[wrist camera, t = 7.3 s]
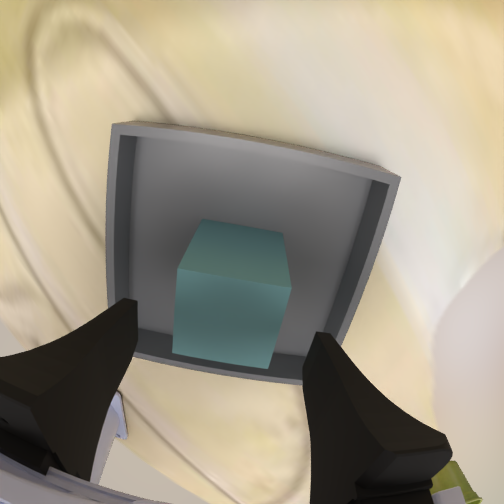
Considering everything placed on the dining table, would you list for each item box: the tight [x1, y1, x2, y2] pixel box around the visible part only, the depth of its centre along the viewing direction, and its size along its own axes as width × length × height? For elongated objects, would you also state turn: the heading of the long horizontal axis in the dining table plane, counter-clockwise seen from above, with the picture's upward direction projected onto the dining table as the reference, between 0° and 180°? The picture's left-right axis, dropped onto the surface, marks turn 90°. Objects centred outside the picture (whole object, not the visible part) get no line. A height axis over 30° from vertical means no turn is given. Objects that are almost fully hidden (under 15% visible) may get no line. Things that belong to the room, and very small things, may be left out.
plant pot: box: [430, 461, 483, 504], centre depth 29 cm, size 9×9×9 cm
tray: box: [106, 121, 401, 385], centre depth 18 cm, size 14×14×3 cm
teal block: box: [172, 219, 292, 369], centre depth 16 cm, size 4×4×6 cm
